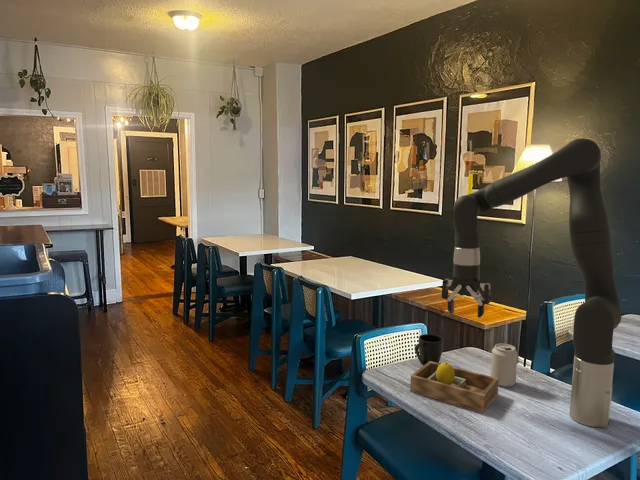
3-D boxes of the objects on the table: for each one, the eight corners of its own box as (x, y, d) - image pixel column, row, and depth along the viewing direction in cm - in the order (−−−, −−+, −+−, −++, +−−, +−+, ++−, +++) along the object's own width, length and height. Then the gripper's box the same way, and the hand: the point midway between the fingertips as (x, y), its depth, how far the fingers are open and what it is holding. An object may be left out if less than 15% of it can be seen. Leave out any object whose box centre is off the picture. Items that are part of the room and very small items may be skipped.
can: (511, 390, 146) (514, 352, 144) (487, 383, 150) (489, 347, 148) (518, 381, 152) (520, 345, 150) (494, 375, 156) (496, 340, 154)
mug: (405, 366, 163) (406, 339, 162) (428, 357, 171) (429, 332, 169) (424, 374, 157) (425, 346, 156) (447, 365, 164) (448, 338, 163)
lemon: (456, 385, 146) (457, 360, 145) (451, 392, 142) (452, 367, 140) (438, 381, 149) (439, 357, 148) (433, 388, 144) (434, 363, 143)
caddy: (497, 394, 143) (498, 378, 142) (483, 413, 132) (484, 396, 131) (429, 375, 156) (429, 361, 155) (410, 391, 145) (410, 375, 144)
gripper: (494, 262, 141) (493, 315, 143) (447, 258, 149) (446, 308, 151) (487, 266, 135) (485, 321, 137) (439, 262, 143) (438, 314, 145)
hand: (465, 314), depth 144 cm, fingers open, 8 cm apart
